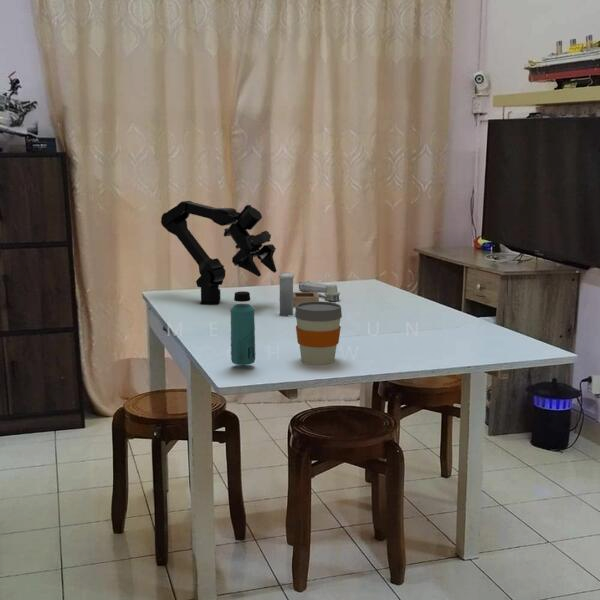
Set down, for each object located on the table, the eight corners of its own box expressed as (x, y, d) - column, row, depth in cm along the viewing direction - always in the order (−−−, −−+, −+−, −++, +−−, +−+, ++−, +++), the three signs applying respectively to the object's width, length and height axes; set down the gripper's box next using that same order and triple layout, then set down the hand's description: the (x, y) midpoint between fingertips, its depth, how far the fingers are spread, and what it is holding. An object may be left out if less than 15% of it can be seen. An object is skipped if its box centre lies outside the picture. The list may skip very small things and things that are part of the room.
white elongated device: (308, 280, 313) (342, 281, 291) (309, 297, 314) (343, 300, 292) (296, 281, 311) (329, 283, 289) (297, 298, 311) (330, 301, 290)
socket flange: (291, 307, 281) (291, 297, 280) (290, 301, 291) (290, 292, 290) (319, 307, 281) (319, 297, 280) (317, 301, 291) (317, 292, 290)
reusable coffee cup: (296, 367, 209) (296, 311, 206) (292, 354, 221) (293, 301, 218) (344, 366, 210) (345, 310, 207) (337, 353, 222) (338, 300, 219)
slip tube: (278, 316, 267) (278, 275, 264) (278, 313, 272) (278, 272, 269) (294, 316, 267) (294, 275, 265) (293, 312, 273) (293, 272, 270)
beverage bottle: (249, 371, 204) (248, 295, 200) (226, 368, 207) (225, 293, 203) (259, 365, 210) (259, 290, 206) (237, 362, 213) (236, 288, 209)
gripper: (239, 225, 264) (266, 262, 260) (271, 221, 279) (297, 256, 276) (220, 246, 269) (246, 283, 266) (253, 241, 285) (277, 275, 281)
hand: (267, 273), depth 272 cm, fingers open, 9 cm apart
